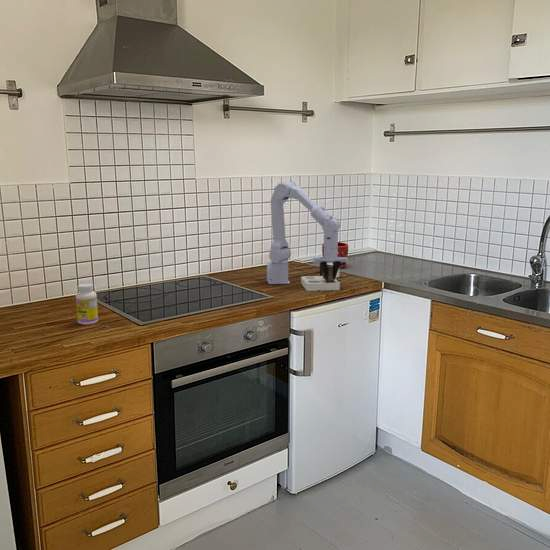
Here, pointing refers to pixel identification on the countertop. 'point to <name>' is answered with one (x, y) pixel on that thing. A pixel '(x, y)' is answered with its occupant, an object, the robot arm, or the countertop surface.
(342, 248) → the plant pot
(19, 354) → the countertop surface
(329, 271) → the walnut pin
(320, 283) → the pin board
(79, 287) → the supplement bottle
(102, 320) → the countertop surface
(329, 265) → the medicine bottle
